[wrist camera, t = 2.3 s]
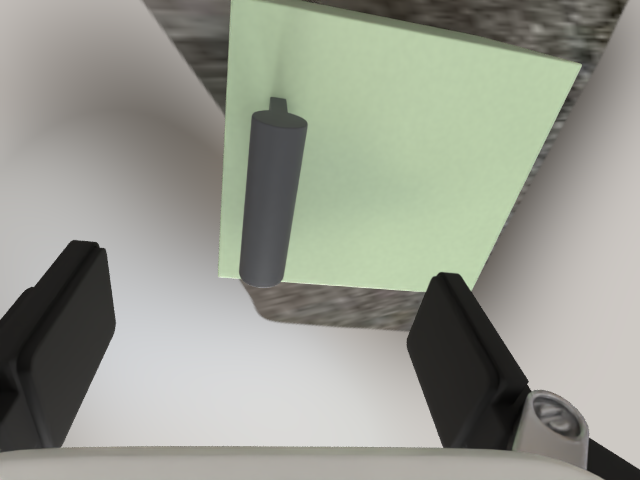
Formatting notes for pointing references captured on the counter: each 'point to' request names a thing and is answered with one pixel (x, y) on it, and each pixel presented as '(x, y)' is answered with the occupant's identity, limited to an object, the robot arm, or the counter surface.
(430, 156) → the lid
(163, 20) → the counter surface
